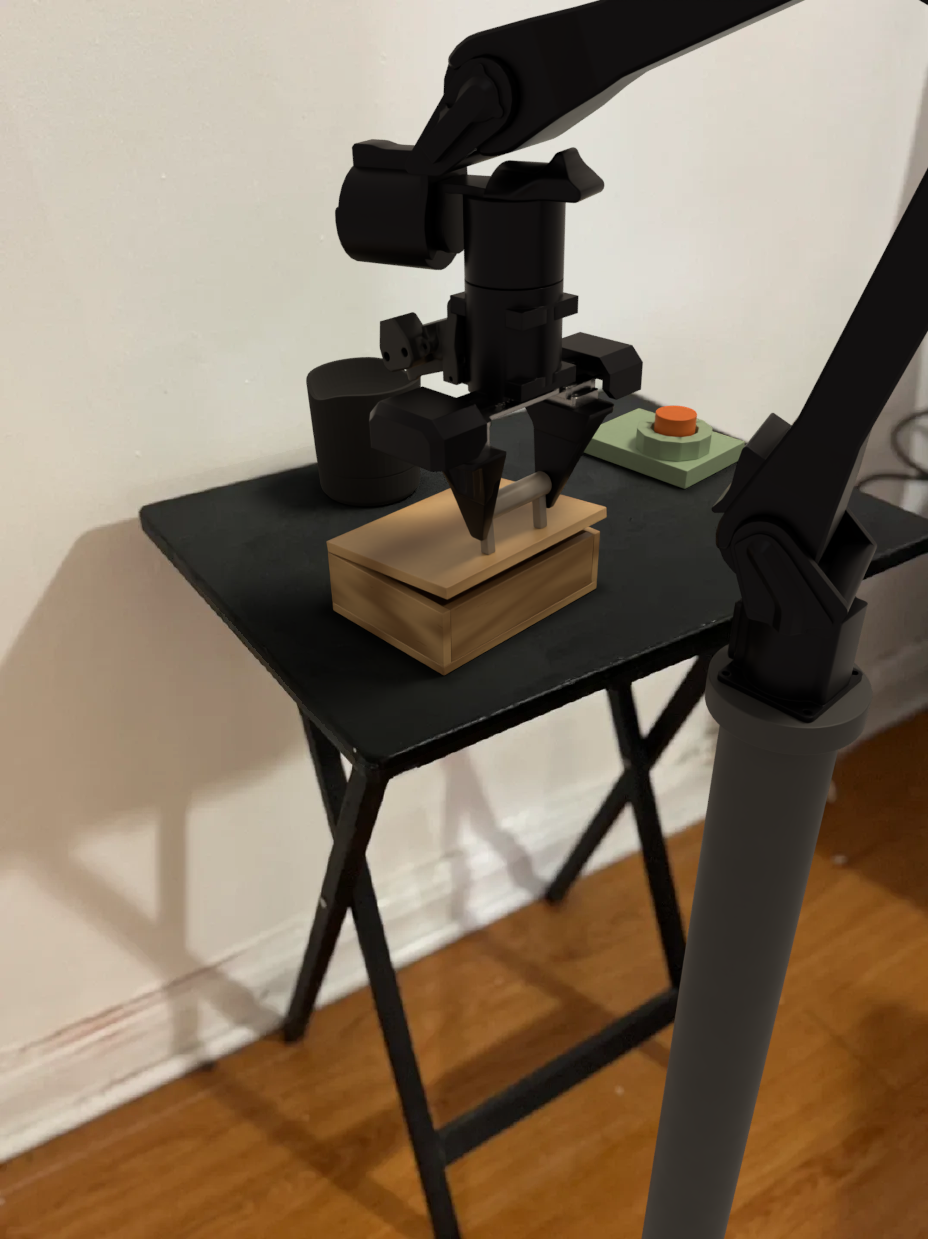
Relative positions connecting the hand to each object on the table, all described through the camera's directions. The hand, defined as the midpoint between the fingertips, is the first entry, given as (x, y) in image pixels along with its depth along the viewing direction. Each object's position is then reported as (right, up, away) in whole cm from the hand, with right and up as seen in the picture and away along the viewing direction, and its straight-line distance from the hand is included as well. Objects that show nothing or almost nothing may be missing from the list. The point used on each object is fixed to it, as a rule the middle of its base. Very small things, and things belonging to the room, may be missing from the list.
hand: (513, 521), depth 68 cm
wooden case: (-3, -5, +7) cm, 9 cm away
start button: (+16, +10, +25) cm, 31 cm away
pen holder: (-11, +5, +23) cm, 26 cm away
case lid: (-3, -1, +4) cm, 5 cm away
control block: (+15, +9, +28) cm, 33 cm away
